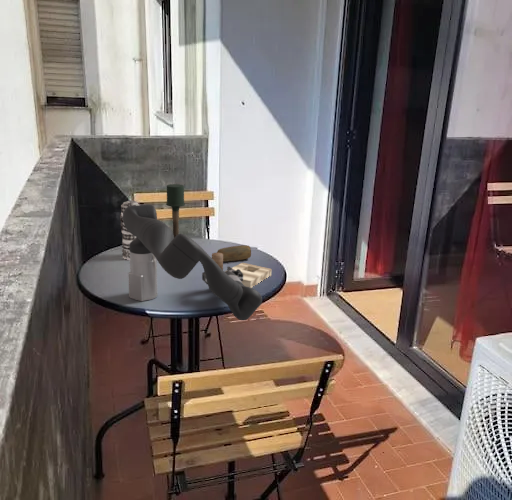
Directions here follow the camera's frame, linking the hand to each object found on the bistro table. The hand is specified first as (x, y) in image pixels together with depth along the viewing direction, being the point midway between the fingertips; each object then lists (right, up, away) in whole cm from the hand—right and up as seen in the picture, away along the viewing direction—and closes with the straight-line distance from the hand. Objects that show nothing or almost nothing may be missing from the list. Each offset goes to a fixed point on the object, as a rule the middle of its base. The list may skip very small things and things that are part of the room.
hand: (217, 269), depth 183 cm
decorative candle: (-41, +4, +35) cm, 53 cm away
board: (+10, -4, +14) cm, 18 cm away
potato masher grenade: (-24, +8, +50) cm, 56 cm away
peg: (0, -7, +2) cm, 8 cm away
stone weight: (+4, +3, +36) cm, 36 cm away
